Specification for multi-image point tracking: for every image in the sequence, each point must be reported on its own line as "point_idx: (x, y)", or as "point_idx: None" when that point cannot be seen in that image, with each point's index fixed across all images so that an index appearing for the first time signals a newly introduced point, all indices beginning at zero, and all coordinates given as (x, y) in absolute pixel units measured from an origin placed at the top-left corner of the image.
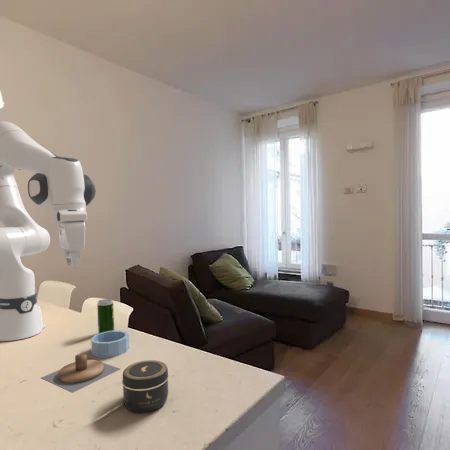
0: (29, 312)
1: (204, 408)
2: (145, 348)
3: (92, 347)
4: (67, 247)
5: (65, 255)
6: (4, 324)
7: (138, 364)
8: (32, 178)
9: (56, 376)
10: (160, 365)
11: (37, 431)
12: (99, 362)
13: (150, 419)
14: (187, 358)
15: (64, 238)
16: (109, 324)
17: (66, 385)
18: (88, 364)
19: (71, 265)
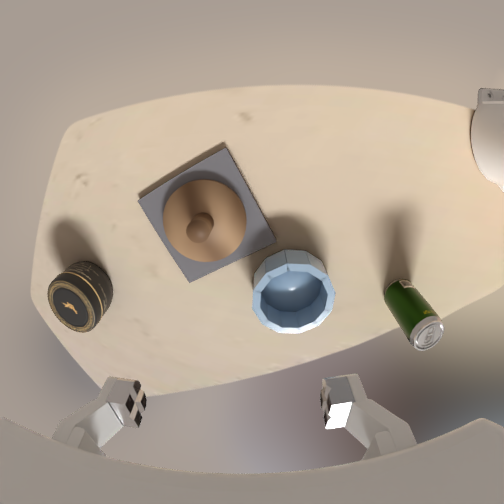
0: None
1: None
2: (270, 336)
3: (284, 258)
4: (27, 444)
5: (370, 415)
6: (500, 112)
7: (83, 306)
8: None
9: (215, 176)
10: (75, 326)
11: (75, 156)
12: (216, 257)
13: None
14: (193, 367)
15: None
16: (392, 309)
17: (166, 192)
18: (216, 237)
19: (120, 383)
